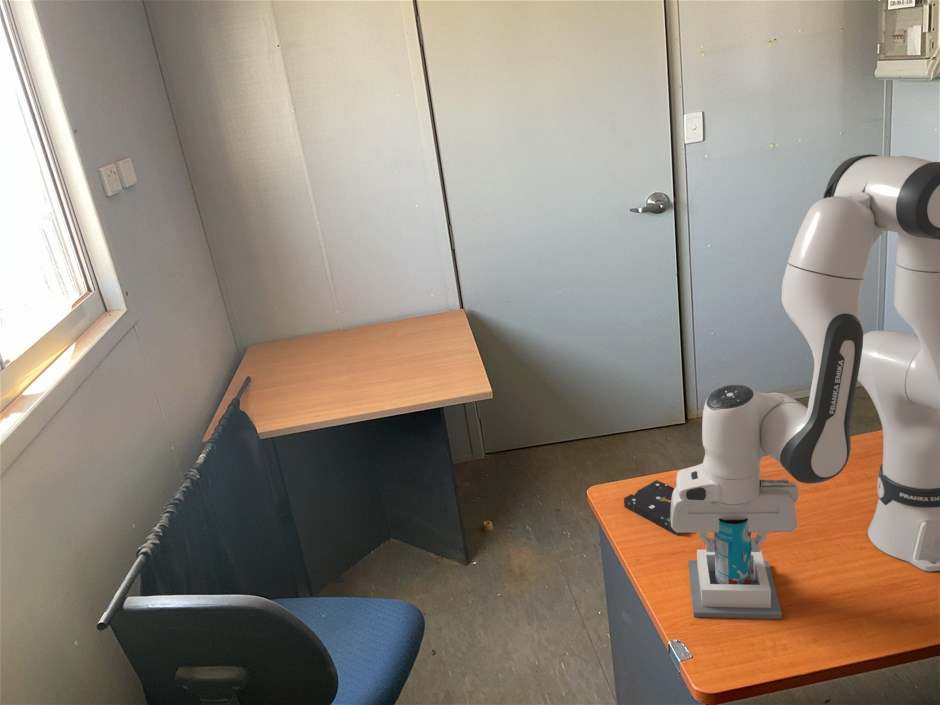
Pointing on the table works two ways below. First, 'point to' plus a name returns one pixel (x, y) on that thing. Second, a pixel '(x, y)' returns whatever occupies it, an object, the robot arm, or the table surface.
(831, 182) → the robot arm
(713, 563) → the can holder
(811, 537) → the table surface
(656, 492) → the disk drive
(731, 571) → the beverage can
